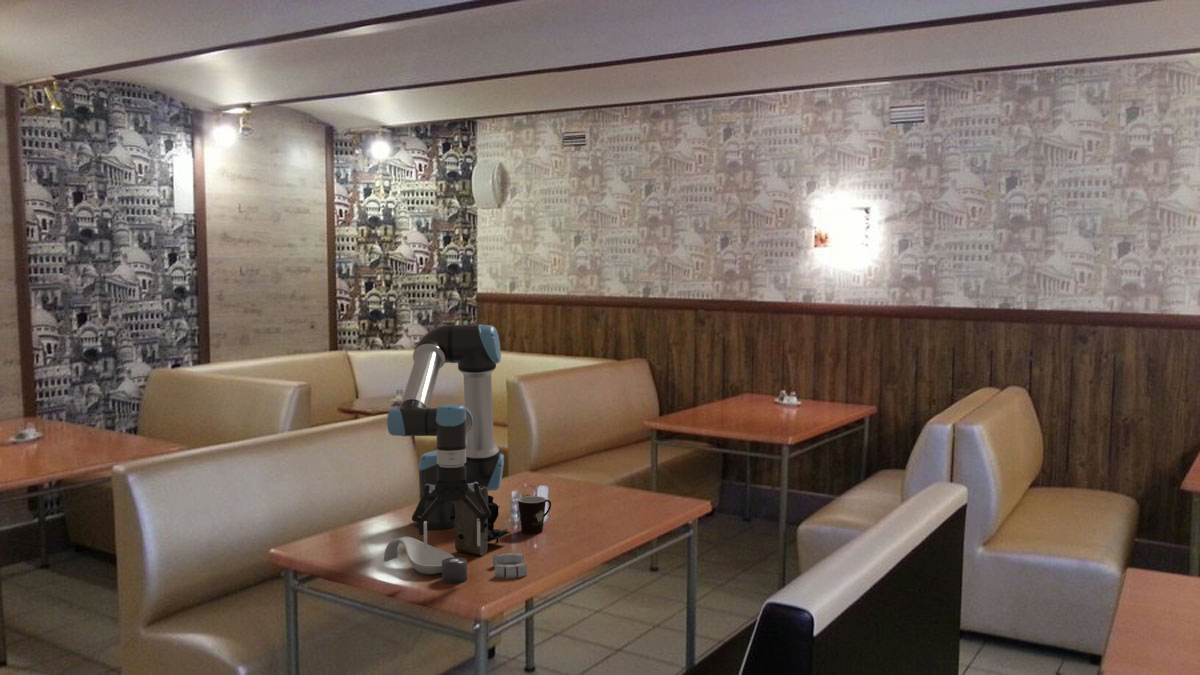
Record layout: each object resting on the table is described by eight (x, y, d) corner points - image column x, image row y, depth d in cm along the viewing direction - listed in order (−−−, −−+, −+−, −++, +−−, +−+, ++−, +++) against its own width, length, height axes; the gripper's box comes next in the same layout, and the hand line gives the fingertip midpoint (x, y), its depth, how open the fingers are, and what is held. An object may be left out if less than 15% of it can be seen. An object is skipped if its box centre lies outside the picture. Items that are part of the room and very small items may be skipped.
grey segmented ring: (492, 564, 247) (492, 553, 247) (523, 563, 249) (523, 552, 249) (495, 579, 236) (495, 567, 235) (527, 577, 237) (527, 566, 237)
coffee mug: (522, 536, 274) (522, 503, 274) (514, 529, 282) (514, 497, 282) (559, 532, 279) (559, 500, 278) (550, 525, 287) (550, 494, 286)
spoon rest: (463, 570, 244) (463, 544, 243) (430, 582, 234) (430, 554, 234) (405, 554, 258) (404, 529, 257) (371, 564, 249) (371, 539, 248)
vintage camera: (513, 545, 267) (513, 478, 266) (480, 557, 254) (480, 486, 253) (487, 541, 272) (486, 475, 271) (453, 552, 258) (453, 483, 258)
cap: (442, 576, 238) (441, 557, 238) (466, 575, 239) (466, 555, 239) (441, 584, 232) (441, 564, 231) (467, 583, 233) (467, 563, 232)
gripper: (401, 469, 228) (402, 552, 229) (501, 466, 232) (501, 547, 233) (402, 463, 235) (403, 544, 237) (499, 460, 240) (499, 539, 241)
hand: (452, 546), depth 235 cm, fingers open, 13 cm apart
